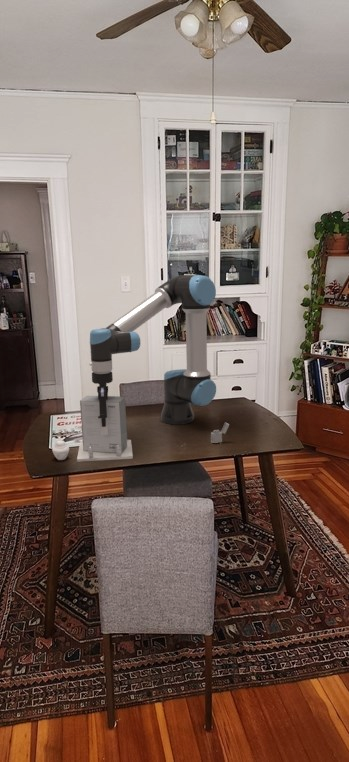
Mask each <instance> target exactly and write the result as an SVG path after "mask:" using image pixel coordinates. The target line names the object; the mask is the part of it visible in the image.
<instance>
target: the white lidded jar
mask: <svg viewBox="0 0 349 762" xmlns="http://www.w3.org/2000/svg"><path fill="white" fill-rule="evenodd" d="M69 452H70V447H69V445H67V443H66V442H65V441H64V440H57V441H55V445H54V446H53V447H52V453H53V455H54V457H55V458H56V459H57V460H58V461H63V460H66V459H67V457H68V455H69Z"/></svg>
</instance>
